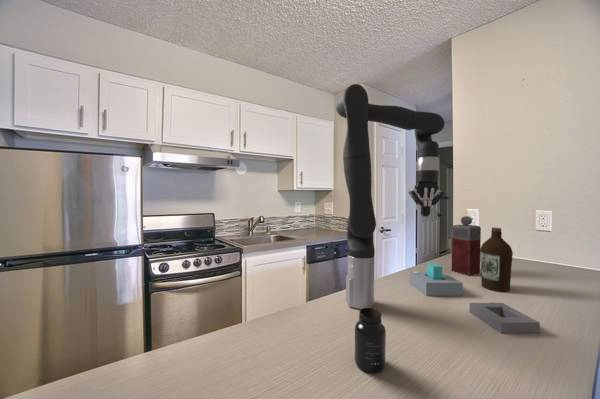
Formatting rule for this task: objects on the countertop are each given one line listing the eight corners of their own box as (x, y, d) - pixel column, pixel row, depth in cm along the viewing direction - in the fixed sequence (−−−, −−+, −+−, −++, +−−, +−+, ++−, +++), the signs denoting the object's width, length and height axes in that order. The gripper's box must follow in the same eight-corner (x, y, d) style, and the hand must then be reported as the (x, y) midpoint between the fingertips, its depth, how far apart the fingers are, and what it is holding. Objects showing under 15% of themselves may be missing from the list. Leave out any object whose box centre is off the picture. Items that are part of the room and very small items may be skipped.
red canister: (482, 272, 127) (484, 216, 127) (469, 276, 122) (470, 217, 122) (464, 268, 135) (465, 215, 135) (451, 271, 130) (451, 215, 130)
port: (426, 295, 98) (426, 281, 98) (409, 283, 112) (410, 270, 112) (462, 295, 98) (462, 281, 98) (441, 283, 112) (441, 270, 112)
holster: (500, 333, 72) (501, 322, 72) (469, 311, 85) (469, 302, 85) (539, 333, 72) (539, 322, 72) (502, 311, 85) (502, 302, 85)
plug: (433, 291, 103) (433, 266, 103) (426, 286, 108) (427, 263, 108) (441, 291, 103) (442, 266, 103) (435, 286, 108) (435, 263, 108)
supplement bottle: (350, 355, 62) (351, 305, 61) (378, 353, 62) (378, 304, 62) (359, 375, 55) (360, 319, 55) (390, 373, 55) (391, 318, 55)
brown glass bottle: (489, 282, 114) (490, 226, 113) (517, 290, 104) (519, 229, 103) (473, 285, 110) (475, 227, 109) (501, 294, 100) (502, 230, 99)
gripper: (414, 168, 92) (412, 216, 92) (450, 169, 92) (448, 217, 93) (405, 170, 100) (403, 215, 100) (438, 171, 100) (437, 215, 100)
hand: (425, 216), depth 96 cm, fingers closed
